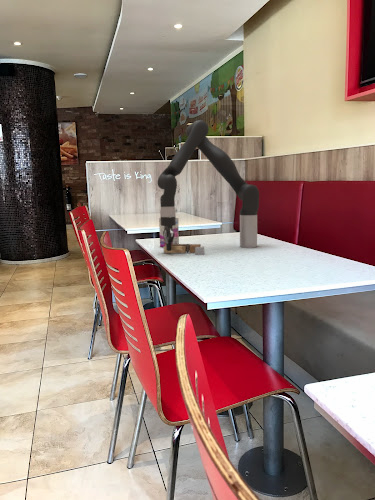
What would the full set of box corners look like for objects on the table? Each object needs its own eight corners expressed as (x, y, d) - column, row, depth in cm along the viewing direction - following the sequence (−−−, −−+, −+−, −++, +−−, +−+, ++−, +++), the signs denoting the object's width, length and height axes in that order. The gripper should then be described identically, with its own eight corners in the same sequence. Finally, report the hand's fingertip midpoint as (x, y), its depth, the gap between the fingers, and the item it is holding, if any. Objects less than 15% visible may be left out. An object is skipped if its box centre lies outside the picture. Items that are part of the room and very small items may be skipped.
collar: (196, 253, 213) (196, 246, 213) (204, 253, 213) (204, 246, 212) (195, 255, 209) (195, 247, 209) (203, 255, 209) (203, 247, 208)
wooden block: (166, 250, 224) (166, 242, 223) (200, 250, 221) (200, 242, 220) (163, 253, 216) (163, 244, 216) (199, 253, 214) (199, 244, 213)
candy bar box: (179, 247, 233) (178, 217, 230) (172, 249, 229) (171, 218, 227) (166, 246, 241) (165, 216, 238) (159, 247, 238) (158, 217, 235)
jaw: (185, 251, 217) (185, 245, 216) (185, 252, 214) (185, 246, 214) (164, 252, 218) (164, 245, 217) (163, 252, 215) (163, 246, 215)
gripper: (157, 215, 216) (158, 249, 218) (164, 216, 203) (165, 252, 206) (171, 214, 218) (172, 248, 221) (179, 216, 206) (180, 251, 208)
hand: (168, 250), depth 213 cm, fingers closed
